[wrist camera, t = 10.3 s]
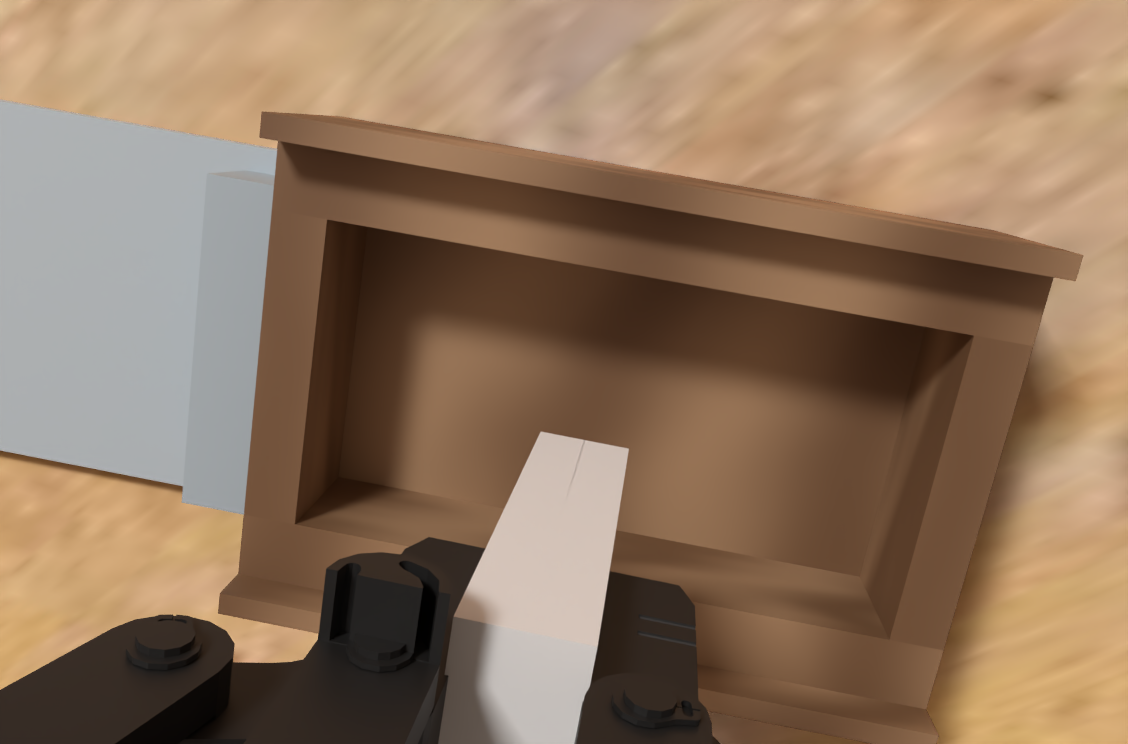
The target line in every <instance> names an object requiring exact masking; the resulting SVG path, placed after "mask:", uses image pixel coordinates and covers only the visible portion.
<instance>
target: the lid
mask: <svg viewBox="0 0 1128 744" xmlns="http://www.w3.org/2000/svg"><path fill="white" fill-rule="evenodd" d="M276 158H277V149H275V148H269V147H264V146H258V145H252V144H247V143H241V142H236V141H230V140H224V139H219V138H213V137H208V136H202V135H196V134H191V133H185V132H180V131H174V130H168V129H163V128H157V127H152V126H146V125H140V124H135V123H129V122H124V121H118V120H112V119H107V118H101V117H95V116H90V115H84V114H79V113H73V112H67V111H62V110H56V109H51V108H45V107H39V106H34V105H28V104H23V103H17V102H11V101H6V100H0V451H6V452H11V453H16V454H21V455H26V456H31V457H36V458H41V459H46V460H52V461H57V462H62V463H67V464H72V465H77V466H82V467H87V468H92V469H98V470H103V471H108V472H113V473H118V474H123V475H128V476H133V477H139V478H144V479H149V480H154V481H159V482H164V483H169V484H174V485H179V486H183V493H182V503H187V504H193V505H198V506H203V507H208V508H213V509H218V510H223V511H228V512H233V513H238V514H244V507H245V496H246V485H247V474H248V463H249V452H250V441H251V430H252V420H253V409H254V398H255V387H256V376H257V365H258V354H259V343H260V332H261V321H262V310H263V299H264V289H265V278H266V267H267V256H268V245H269V234H270V223H271V212H272V201H273V190H274V179H275V168H276Z"/></svg>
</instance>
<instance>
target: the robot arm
mask: <svg viewBox="0 0 1128 744" xmlns="http://www.w3.org/2000/svg"><path fill="white" fill-rule="evenodd" d="M628 451H629V449H628V448H623V447H618V446H613V445H607V444H602V443H597V442H592V441H587V440H582V439H577V438H572V437H566V436H561V435H556V434H551V433H546V432H540V434H539V436H538V438H537V441H536V443H535V445H534V447H533V449H532V451H531V453H530V455H529V457H528V460H527V462H526V464H525V466H524V468H523V470H522V472H521V474H520V477H519V479H518V481H517V483H516V485H515V487H514V489H513V491H512V494H511V496H510V498H509V500H508V502H507V504H506V506H505V508H504V510H503V513H502V515H501V517H500V519H499V521H498V523H497V525H496V527H495V530H494V532H493V534H492V536H491V538H490V540H489V542H488V544H487V547H486V548H481V547H476V546H471V545H466V544H461V543H457V542H452V541H447V540H442V539H437V538H432V537H428V538H426V539H424V540H422V541H420V542H418V543H416V544H414V545H412V546H410V547H408V548H406V549H404V551H403V552H402V554H393V553H385V552H376V553H360V554H355V555H352V556H349V557H345V558H342V559H339V560H337V561H336V562H334V563H333V564H332V565H330V566H329V567H327V568H326V574H325V583H324V592H323V600H322V609H321V618H320V626H319V635H318V640H317V642H316V643H315V644H314V646H313V647H312V649H311V650H310V651H309V653H308V654H307V656H306V657H305V658H304V660H299V661H294V662H283V663H235V662H233V655H234V642H233V641H232V639H231V638H230V636H229V634H228V633H227V631H225V630H223V629H222V628H220V627H218V626H216V625H215V624H213V623H211V622H209V621H205V620H201V619H196V618H192V617H189V616H183V615H176V616H173V615H158V616H155V617H149V618H143V619H136V620H133V621H130V622H128V623H125V624H123V625H120V626H117V627H115V628H112V629H110V630H109V631H107V632H105V633H103V634H101V635H100V636H98V637H96V638H94V639H92V640H90V641H89V642H87V643H85V644H83V645H81V646H79V647H78V648H76V649H74V650H72V651H70V652H69V653H67V654H65V655H63V656H61V657H59V658H58V659H56V660H54V661H52V662H50V663H49V664H47V665H45V666H43V667H41V668H39V669H38V670H36V671H34V672H32V673H30V674H28V675H27V676H25V677H23V678H21V679H19V680H18V681H16V682H14V683H12V684H10V685H8V686H7V687H5V688H3V689H1V690H0V744H720V743H719V742H718V741H717V740H716V739H715V738H714V737H713V736H712V723H711V720H710V717H709V715H708V712H707V709H706V707H705V706H704V705H703V704H702V703H701V702H700V701H699V699H698V673H697V647H696V630H695V627H696V619H695V605H694V604H693V603H692V601H691V600H690V599H689V597H688V596H687V595H686V593H685V592H684V591H683V589H682V588H681V587H680V586H679V585H675V584H670V583H666V582H661V581H656V580H651V579H646V578H641V577H636V576H631V575H627V574H622V573H617V572H612V571H610V565H611V559H612V552H613V546H614V540H615V533H616V527H617V521H618V515H619V508H620V502H621V496H622V489H623V483H624V477H625V470H626V464H627V458H628Z"/></svg>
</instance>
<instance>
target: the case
mask: <svg viewBox="0 0 1128 744" xmlns="http://www.w3.org/2000/svg"><path fill="white" fill-rule="evenodd" d="M260 138H265V139H271V140H277V141H278V147H277V158H276V168H275V179H274V190H273V201H272V212H271V223H270V234H269V245H268V256H267V267H266V278H265V289H264V299H263V310H262V321H261V332H260V343H259V354H258V365H257V376H256V387H255V398H254V409H253V420H252V430H251V441H250V452H249V463H248V474H247V485H246V496H245V507H244V518H243V529H242V540H241V551H240V561H239V572H238V575H237V576H236V577H235V578H234V579H233V580H232V581H231V582H230V583H229V584H228V585H227V586H226V587H225V589H224V590H223V591H222V592H221V593H220V598H219V609H218V614H223V615H228V616H233V617H238V618H243V619H248V620H253V621H258V622H263V623H268V624H273V625H278V626H283V627H288V628H293V629H299V630H304V631H309V632H314V633H319V626H320V618H321V609H322V600H323V592H324V583H325V574H326V568H327V567H329V566H330V565H332V564H333V563H334V562H336V561H337V560H339V559H342V558H345V557H349V556H352V555H355V554H360V553H376V552H385V553H393V554H402V552H403V551H404V549H406V548H408V547H410V546H412V545H414V544H416V543H418V542H420V541H422V540H424V539H426V538H428V537H432V538H437V539H442V540H447V541H452V542H457V543H461V544H466V545H471V546H476V547H481V548H486V547H487V544H488V542H489V540H490V538H491V536H492V534H493V532H494V530H495V527H496V525H497V523H498V521H499V519H500V517H501V515H502V513H503V510H504V508H505V506H506V504H507V502H508V500H509V498H510V496H511V494H512V491H513V489H514V487H515V485H516V483H517V481H518V479H519V477H520V474H521V472H522V470H523V468H524V466H525V464H526V462H527V460H528V457H529V455H530V453H531V451H532V449H533V447H534V445H535V443H536V441H537V438H538V436H539V434H540V432H546V433H551V434H556V435H561V436H566V437H572V438H577V439H582V440H587V441H592V442H597V443H602V444H607V445H613V446H618V447H623V448H628V449H629V451H628V458H627V464H626V470H625V477H624V483H623V489H622V496H621V502H620V508H619V515H618V521H617V527H616V533H615V540H614V546H613V552H612V559H611V565H610V571H612V572H617V573H622V574H627V575H631V576H636V577H641V578H646V579H651V580H656V581H661V582H666V583H670V584H675V585H679V586H680V587H681V588H682V589H683V591H684V592H685V593H686V595H687V596H688V597H689V599H690V600H691V601H692V603H693V604H694V605H695V619H696V627H695V630H696V647H697V673H698V699H699V701H700V702H701V703H702V704H703V705H704V706H705V707H706V709H707V711H710V712H715V713H720V714H725V715H730V716H735V717H740V718H745V719H750V720H755V721H760V722H765V723H770V724H775V725H780V726H785V727H790V728H796V729H801V730H806V731H811V732H816V733H821V734H826V735H831V736H836V737H841V738H846V739H851V740H856V741H861V742H866V743H871V744H937V740H938V737H939V735H938V733H937V731H936V729H935V727H934V725H933V723H932V720H931V718H930V716H929V714H928V712H927V710H926V708H927V705H928V702H929V698H930V695H931V691H932V688H933V685H934V681H935V678H936V675H937V671H938V668H939V664H940V661H941V658H942V654H943V651H944V647H945V644H946V641H947V637H948V634H949V630H950V627H951V624H952V620H953V617H954V613H955V610H956V607H957V603H958V600H959V596H960V593H961V590H962V586H963V583H964V580H965V576H966V573H967V569H968V566H969V563H970V559H971V556H972V552H973V549H974V546H975V542H976V539H977V535H978V532H979V529H980V525H981V522H982V518H983V515H984V512H985V508H986V505H987V501H988V498H989V495H990V491H991V488H992V485H993V481H994V478H995V474H996V471H997V468H998V464H999V461H1000V457H1001V454H1002V451H1003V447H1004V444H1005V440H1006V437H1007V434H1008V430H1009V427H1010V423H1011V420H1012V417H1013V413H1014V410H1015V406H1016V403H1017V400H1018V396H1019V393H1020V390H1021V386H1022V383H1023V379H1024V376H1025V373H1026V369H1027V366H1028V362H1029V359H1030V356H1031V352H1032V349H1033V345H1034V342H1035V339H1036V335H1037V332H1038V328H1039V325H1040V322H1041V318H1042V315H1043V311H1044V308H1045V305H1046V301H1047V298H1048V295H1049V291H1050V288H1051V284H1052V281H1053V278H1054V277H1055V278H1061V279H1066V280H1072V281H1076V278H1077V275H1078V272H1079V268H1080V265H1081V262H1082V258H1083V255H1081V254H1077V253H1074V252H1070V251H1066V250H1063V249H1059V248H1055V247H1052V246H1048V245H1045V244H1041V243H1037V242H1034V241H1030V240H1026V239H1023V238H1019V237H1016V236H1012V235H1008V234H1005V233H1001V232H997V231H994V230H988V229H983V228H977V227H971V226H965V225H960V224H954V223H948V222H942V221H937V220H931V219H925V218H919V217H914V216H908V215H902V214H896V213H891V212H885V211H879V210H874V209H868V208H862V207H856V206H851V205H845V204H839V203H833V202H828V201H822V200H816V199H810V198H805V197H799V196H793V195H788V194H782V193H776V192H770V191H765V190H759V189H753V188H747V187H742V186H736V185H730V184H724V183H719V182H713V181H707V180H702V179H696V178H690V177H684V176H679V175H673V174H667V173H661V172H656V171H650V170H644V169H638V168H633V167H627V166H621V165H615V164H610V163H604V162H598V161H593V160H587V159H581V158H575V157H570V156H564V155H558V154H552V153H547V152H541V151H535V150H529V149H524V148H518V147H512V146H507V145H501V144H495V143H489V142H484V141H478V140H472V139H466V138H461V137H455V136H449V135H443V134H438V133H432V132H426V131H420V130H415V129H409V128H403V127H398V126H392V125H386V124H380V123H375V122H369V121H363V120H357V119H352V118H346V117H339V116H323V115H308V114H292V113H276V112H262V115H261V126H260Z"/></svg>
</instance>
